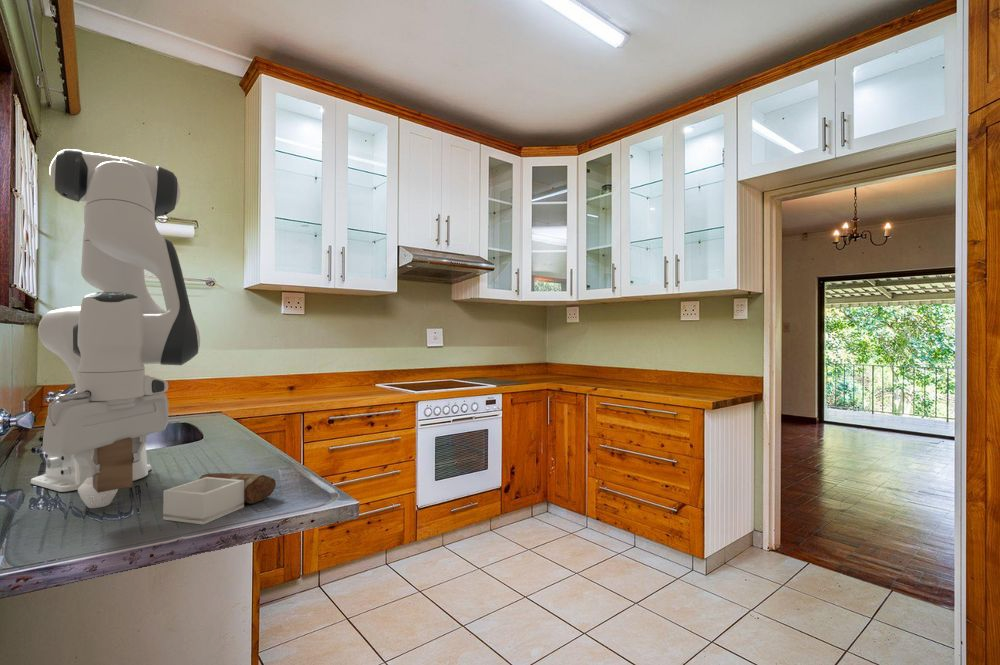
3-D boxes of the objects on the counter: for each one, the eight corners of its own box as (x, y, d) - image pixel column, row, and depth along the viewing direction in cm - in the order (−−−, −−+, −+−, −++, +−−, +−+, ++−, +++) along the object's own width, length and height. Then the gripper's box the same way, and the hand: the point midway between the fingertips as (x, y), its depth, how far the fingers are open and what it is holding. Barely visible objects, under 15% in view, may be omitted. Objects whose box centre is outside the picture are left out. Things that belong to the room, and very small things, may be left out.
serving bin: (163, 519, 84) (163, 490, 84) (206, 503, 92) (206, 476, 92) (203, 524, 81) (203, 494, 81) (244, 507, 90) (244, 480, 90)
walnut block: (92, 486, 81) (92, 439, 81) (126, 480, 85) (126, 435, 85) (97, 492, 78) (97, 443, 78) (132, 486, 82) (132, 439, 82)
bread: (249, 509, 89) (249, 479, 89) (189, 494, 98) (189, 467, 98) (278, 499, 95) (278, 471, 95) (219, 486, 104) (219, 460, 104)
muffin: (73, 506, 90) (73, 469, 90) (113, 498, 95) (113, 462, 95) (83, 513, 87) (84, 474, 87) (124, 504, 92) (125, 467, 92)
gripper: (68, 396, 71) (68, 490, 71) (175, 381, 91) (175, 454, 91) (29, 395, 71) (30, 488, 71) (144, 380, 92) (144, 453, 92)
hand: (112, 469), depth 81 cm, fingers closed on walnut block, 6 cm apart
